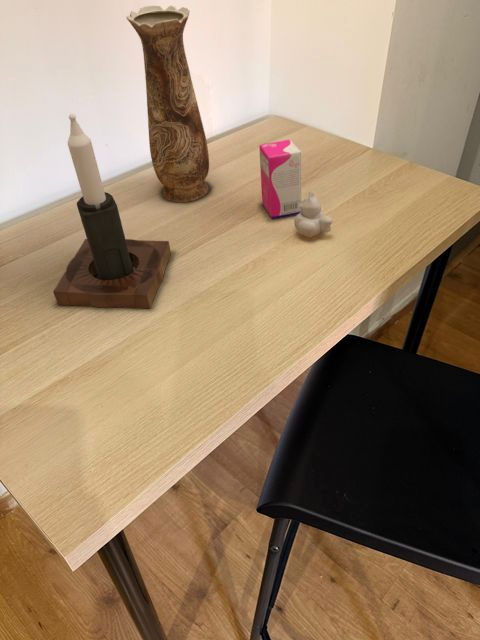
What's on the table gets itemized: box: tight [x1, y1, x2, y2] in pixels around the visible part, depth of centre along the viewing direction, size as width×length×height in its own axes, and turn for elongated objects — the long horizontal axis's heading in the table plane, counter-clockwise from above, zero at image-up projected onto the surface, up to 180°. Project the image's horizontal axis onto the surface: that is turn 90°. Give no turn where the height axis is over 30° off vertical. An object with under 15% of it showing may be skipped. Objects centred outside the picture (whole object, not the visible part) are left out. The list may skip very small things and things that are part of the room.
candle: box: [67, 113, 134, 280], centre depth 74 cm, size 5×5×25 cm
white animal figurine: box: [293, 189, 334, 238], centre depth 87 cm, size 5×7×8 cm
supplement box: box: [258, 139, 302, 221], centre depth 92 cm, size 6×6×12 cm
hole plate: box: [52, 238, 172, 309], centre depth 82 cm, size 14×14×2 cm
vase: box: [125, 5, 210, 203], centre depth 92 cm, size 10×11×30 cm
